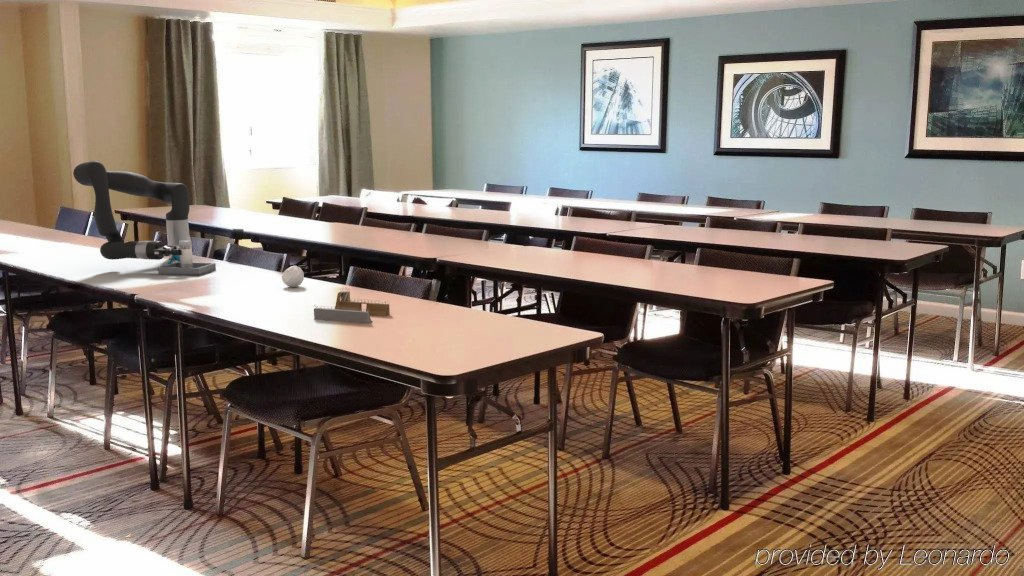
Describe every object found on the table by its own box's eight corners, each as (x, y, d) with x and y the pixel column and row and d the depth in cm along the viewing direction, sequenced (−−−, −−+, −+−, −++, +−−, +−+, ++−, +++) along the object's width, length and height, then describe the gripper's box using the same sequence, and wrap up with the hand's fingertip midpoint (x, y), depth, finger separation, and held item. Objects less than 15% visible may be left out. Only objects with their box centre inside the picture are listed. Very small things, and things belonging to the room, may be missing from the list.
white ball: (278, 287, 344) (277, 266, 342) (293, 284, 350) (292, 263, 348) (293, 289, 339) (292, 268, 338) (309, 286, 345) (308, 265, 344)
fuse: (184, 269, 380) (182, 240, 378) (195, 269, 380) (193, 240, 377) (178, 271, 376) (176, 241, 374) (189, 271, 375) (187, 241, 373)
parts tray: (176, 269, 386) (175, 262, 386) (215, 270, 383) (215, 263, 382) (158, 274, 373) (157, 267, 372) (199, 275, 370) (198, 268, 369)
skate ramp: (291, 323, 287) (290, 299, 285) (350, 302, 319) (349, 280, 318) (375, 330, 276) (375, 305, 275) (428, 308, 309) (427, 285, 307)
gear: (187, 262, 394) (168, 246, 390) (178, 273, 392) (158, 257, 389) (185, 262, 404) (166, 247, 400) (175, 272, 402) (156, 257, 399)
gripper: (139, 243, 372) (177, 244, 369) (158, 238, 386) (195, 239, 383) (140, 262, 373) (178, 262, 370) (160, 256, 387) (196, 257, 384)
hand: (186, 250), depth 376 cm, fingers open, 8 cm apart
